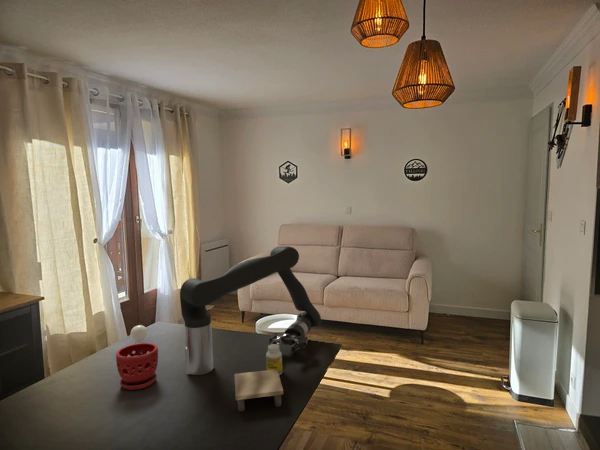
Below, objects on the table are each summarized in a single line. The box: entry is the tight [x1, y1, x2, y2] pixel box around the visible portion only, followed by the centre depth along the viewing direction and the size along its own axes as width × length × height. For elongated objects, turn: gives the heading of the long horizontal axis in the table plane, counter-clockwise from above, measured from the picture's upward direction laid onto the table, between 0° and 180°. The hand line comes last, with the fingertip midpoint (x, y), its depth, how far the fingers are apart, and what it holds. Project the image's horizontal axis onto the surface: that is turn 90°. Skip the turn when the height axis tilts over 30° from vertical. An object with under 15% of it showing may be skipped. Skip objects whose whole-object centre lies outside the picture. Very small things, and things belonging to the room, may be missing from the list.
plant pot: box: [115, 342, 159, 391], centre depth 135 cm, size 13×13×12 cm
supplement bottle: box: [265, 344, 283, 376], centre depth 140 cm, size 6×6×10 cm
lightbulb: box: [130, 324, 148, 353], centre depth 161 cm, size 6×6×11 cm
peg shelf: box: [234, 369, 284, 412], centre depth 124 cm, size 14×14×5 cm
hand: (281, 348), depth 147 cm, fingers open, 8 cm apart
